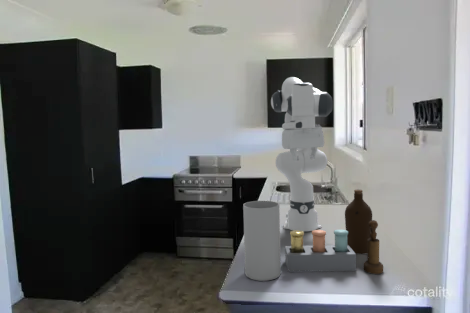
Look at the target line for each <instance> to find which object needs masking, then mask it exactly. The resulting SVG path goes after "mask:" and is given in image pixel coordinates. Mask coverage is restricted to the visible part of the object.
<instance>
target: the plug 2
mask: <svg viewBox="0 0 470 313" xmlns="http://www.w3.org/2000/svg"><path fill="white" fill-rule="evenodd" d="M311 235H312V246H313V253H321V252H325V245H326V235H327V231H326V230H323V229H322V230H321V229H316V230H313V231H311Z"/></svg>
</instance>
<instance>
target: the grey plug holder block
mask: <svg viewBox="0 0 470 313" xmlns="http://www.w3.org/2000/svg"><path fill="white" fill-rule="evenodd" d="M284 254H285V256H284V258H285V260H284V261H285V265H286V270H287V272H354V271H356V272H357V254H355V252H354V251H353V250H352V249H351V248H350V246H349V245H347V252H335V244H332V245H331V244H330V245H329V244H328V245H326V244H325V252H321V253H313V245H303V253H291V245H285V246H284Z"/></svg>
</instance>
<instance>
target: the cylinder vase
mask: <svg viewBox="0 0 470 313" xmlns="http://www.w3.org/2000/svg"><path fill="white" fill-rule="evenodd" d="M242 210H243V213H242V214H243V238H244V240H243V241H244V244H243V245H244V272H245V275H246V277H247V278H249V279H251V280H254V281H259V282H267V281H272V280H276V279H277V278H279V277H280V275H281V274H282V268H281V264H282V262H281V261H282V260H281V223H280V222H281V219H280V215H281V214H280V213H281V212H280V203H279V202H276V201H272V200H253V201H247V202H245V203H243V206H242Z"/></svg>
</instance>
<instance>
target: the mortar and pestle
mask: <svg viewBox="0 0 470 313" xmlns="http://www.w3.org/2000/svg"><path fill="white" fill-rule="evenodd" d="M378 226H379V223H378V222H377V220H376V219H374V220H373V219H372V220H371V221H370V222H369V227H370V229H371V233H370V236H371V238H369V239H367V245H368V252H367V254H366V255H367V258H366V259H367V260H365V261H364V262H363V268H362V270H363V271H364V272H366V273H369V274H372V275H373V274H374V275H380V274H383V273H384V264H383V263H382V262H381V261H380V239H378V238H377V235H378V233H377V231H376V229H378Z"/></svg>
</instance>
